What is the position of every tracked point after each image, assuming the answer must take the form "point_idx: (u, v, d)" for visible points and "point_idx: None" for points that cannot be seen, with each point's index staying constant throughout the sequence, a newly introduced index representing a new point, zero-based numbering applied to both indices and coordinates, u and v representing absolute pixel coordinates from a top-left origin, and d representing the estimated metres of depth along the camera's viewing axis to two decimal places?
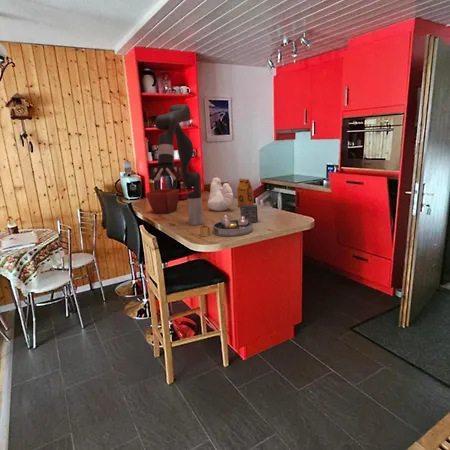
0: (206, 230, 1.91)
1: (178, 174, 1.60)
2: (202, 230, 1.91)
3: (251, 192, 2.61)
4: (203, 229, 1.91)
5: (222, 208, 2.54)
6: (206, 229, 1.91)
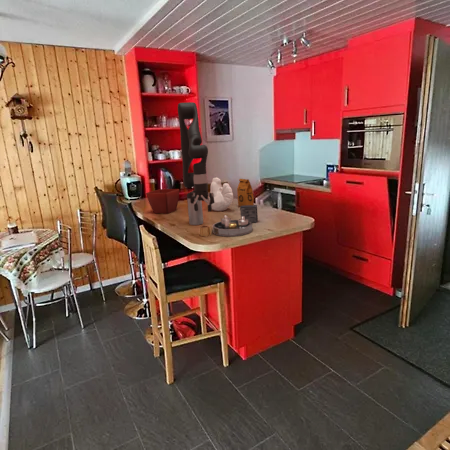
0: (206, 230, 1.91)
1: (211, 200, 1.85)
2: (202, 230, 1.91)
3: (251, 192, 2.61)
4: (203, 229, 1.91)
5: (222, 208, 2.54)
6: (206, 229, 1.91)
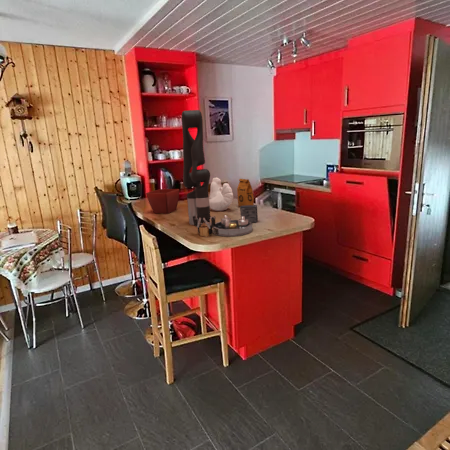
0: (206, 230, 1.91)
1: (212, 224, 1.89)
2: (202, 230, 1.91)
3: (251, 192, 2.61)
4: (203, 229, 1.91)
5: (222, 208, 2.54)
6: (206, 229, 1.91)
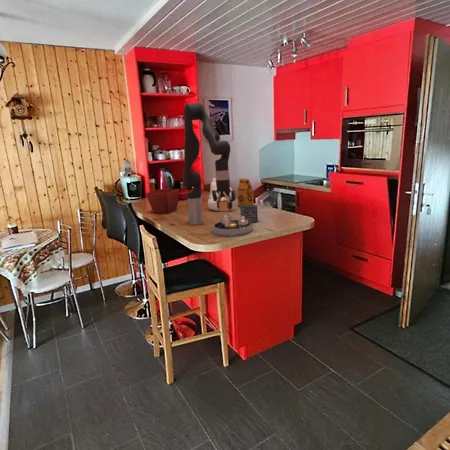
0: (226, 204, 1.86)
1: (232, 198, 1.84)
2: (222, 204, 1.86)
3: (251, 192, 2.61)
4: (223, 203, 1.86)
5: None
6: (226, 203, 1.86)
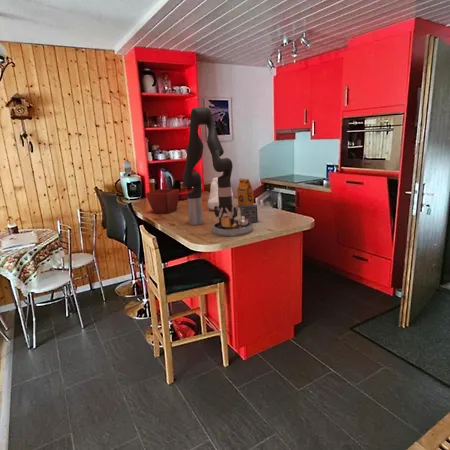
0: (228, 220, 1.89)
1: (234, 214, 1.87)
2: (224, 220, 1.89)
3: (251, 192, 2.61)
4: (225, 219, 1.89)
5: None
6: (228, 219, 1.89)
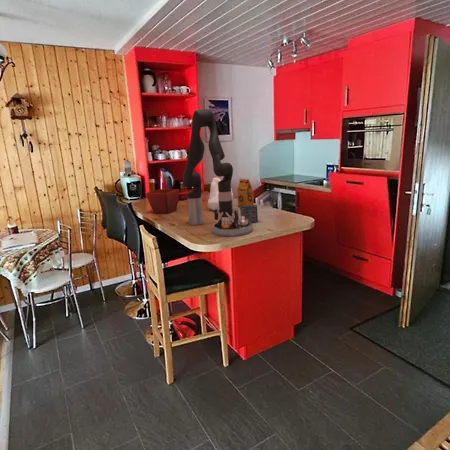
0: (228, 227, 1.90)
1: (236, 217, 1.87)
2: (224, 227, 1.90)
3: (251, 192, 2.61)
4: (225, 226, 1.90)
5: None
6: (228, 226, 1.90)
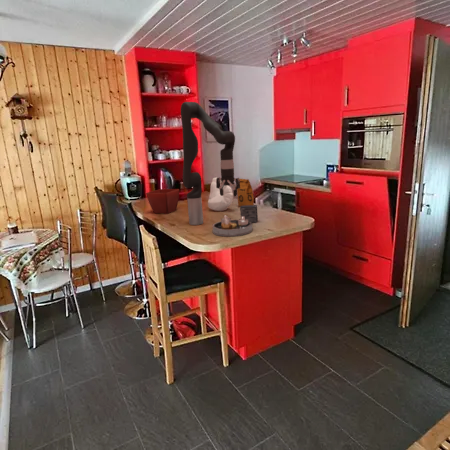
0: (228, 227, 1.90)
1: (237, 185, 1.91)
2: (224, 227, 1.90)
3: (251, 192, 2.61)
4: (225, 226, 1.90)
5: (222, 208, 2.54)
6: (228, 226, 1.90)
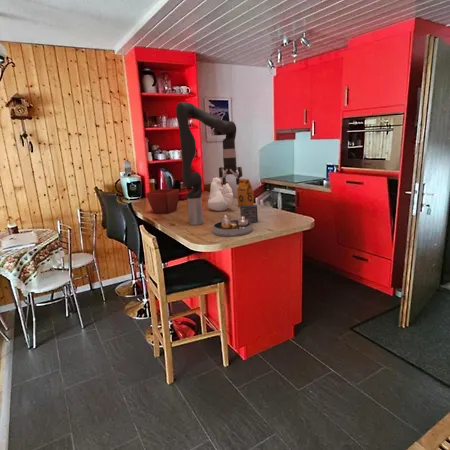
0: (228, 227, 1.90)
1: (239, 174, 1.96)
2: (224, 227, 1.90)
3: (251, 192, 2.61)
4: (225, 226, 1.90)
5: (222, 208, 2.54)
6: (228, 226, 1.90)
